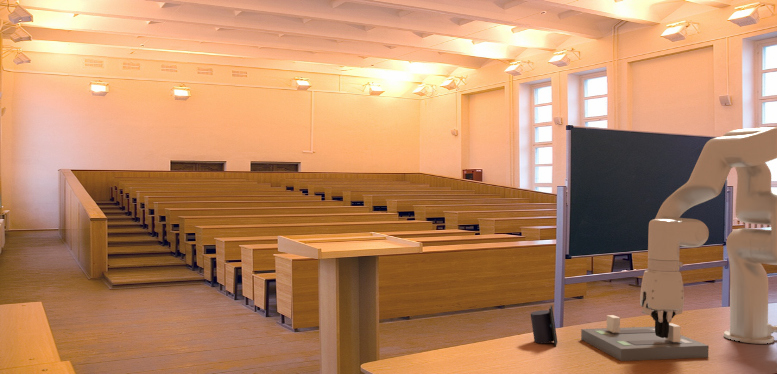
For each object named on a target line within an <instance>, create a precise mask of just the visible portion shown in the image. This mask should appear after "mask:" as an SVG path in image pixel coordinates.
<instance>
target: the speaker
mask: <svg viewBox="0 0 777 374" xmlns="http://www.w3.org/2000/svg"><path fill="white" fill-rule="evenodd" d="M529 315H530V319H531V320H530V321H531V327H532V333H533V341H534V343H536V344H548V343H553V345H554V346H553V347H557V345H558V336H557V335H558V334H557V331H556V323H555V316H554V310H553V305H552V304H551V305H550V306H549V309H546V310H545V309H544V310H542V309H541V310H536V311H531V313H530V314H529Z"/></svg>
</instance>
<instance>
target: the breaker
mask: <svg viewBox="0 0 777 374" xmlns="http://www.w3.org/2000/svg"><path fill="white" fill-rule="evenodd" d="M606 328H607V330H609V331H611V332H620V328H621V317H619V316H617V315H614V314H611V315H609V314H607V315H606Z"/></svg>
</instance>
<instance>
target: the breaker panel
mask: <svg viewBox="0 0 777 374" xmlns="http://www.w3.org/2000/svg"><path fill="white" fill-rule="evenodd" d="M580 332H581V334H580V335H581V341H584V342H586V343H587V344H589V345H591V346H592V347H594V348H596V349H599V350H600V351H601V352H604V353H605V354H608V355H609V356H611V357H612V358H613V357H614V359H616V360H618V361H621V362H625V361H626V362H628V361H647V360H648V361H650V360H651V361H652V360H654V361H655V360H656V361H657V360H674V359H675V360H676V359H680V360H681V359H698V358H699V359H702V358H709V344H705V343H703V342H700V341H697V340H695V339H693V338H690V337H687V336H686V335H682V334H681V339H680V342H672V341H670V340H667V339H665V337H664V338H661V337H658V336H656V333H655V326H634V327H632V326H631V327H629V326H628V327H627V326H626V327H620V332H611V331H609V330H607V327H605V328H603V327H602V328H581V331H580Z"/></svg>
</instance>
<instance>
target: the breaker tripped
mask: <svg viewBox="0 0 777 374" xmlns="http://www.w3.org/2000/svg"><path fill="white" fill-rule="evenodd" d="M681 333H682V332H681V325H678V324H675V323H673V322H669V333H668V338H665V339H667V340H670V341H672V342H680V339H681V335H682V334H681Z"/></svg>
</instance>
